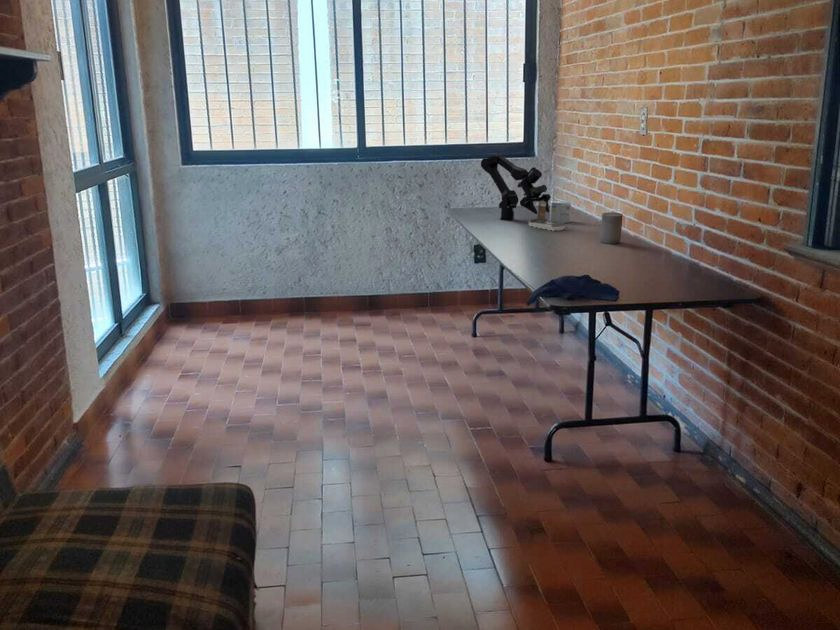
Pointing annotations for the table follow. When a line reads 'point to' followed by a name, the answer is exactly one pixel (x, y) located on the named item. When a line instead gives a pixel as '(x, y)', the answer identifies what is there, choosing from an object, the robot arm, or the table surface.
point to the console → (547, 225)
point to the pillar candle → (611, 228)
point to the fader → (541, 212)
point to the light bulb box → (560, 211)
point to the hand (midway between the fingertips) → (542, 212)
